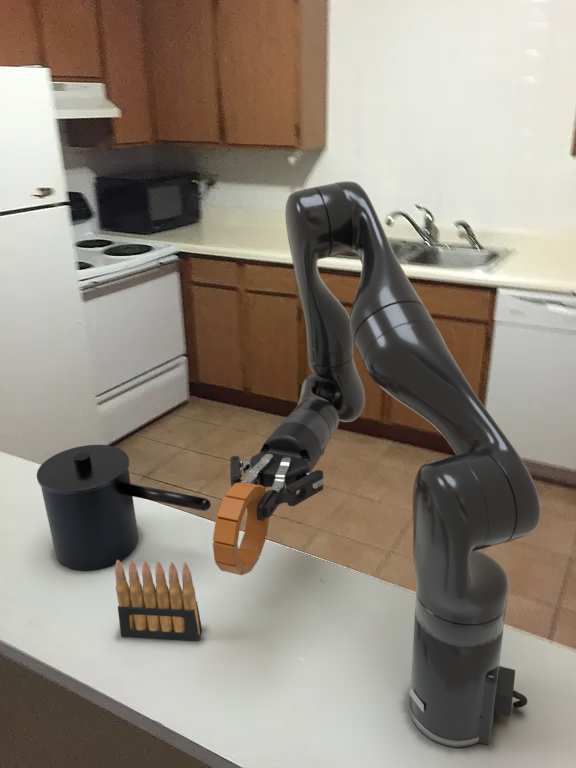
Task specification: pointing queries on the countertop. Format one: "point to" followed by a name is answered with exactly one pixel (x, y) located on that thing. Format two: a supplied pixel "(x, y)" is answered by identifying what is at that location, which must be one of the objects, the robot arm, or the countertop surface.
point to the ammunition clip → (157, 604)
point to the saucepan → (96, 505)
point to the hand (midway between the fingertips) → (247, 511)
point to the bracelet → (229, 527)
